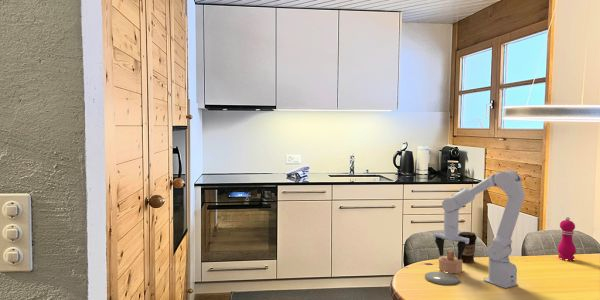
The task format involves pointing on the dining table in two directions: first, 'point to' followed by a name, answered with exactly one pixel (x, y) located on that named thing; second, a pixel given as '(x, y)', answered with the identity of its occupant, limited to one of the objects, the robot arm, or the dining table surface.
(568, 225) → the pepper mill
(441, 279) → the slate plate
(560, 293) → the dining table surface
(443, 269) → the lid with knob
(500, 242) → the robot arm
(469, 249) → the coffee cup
